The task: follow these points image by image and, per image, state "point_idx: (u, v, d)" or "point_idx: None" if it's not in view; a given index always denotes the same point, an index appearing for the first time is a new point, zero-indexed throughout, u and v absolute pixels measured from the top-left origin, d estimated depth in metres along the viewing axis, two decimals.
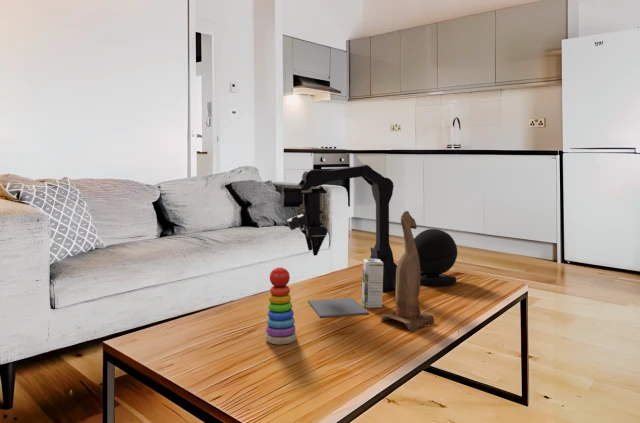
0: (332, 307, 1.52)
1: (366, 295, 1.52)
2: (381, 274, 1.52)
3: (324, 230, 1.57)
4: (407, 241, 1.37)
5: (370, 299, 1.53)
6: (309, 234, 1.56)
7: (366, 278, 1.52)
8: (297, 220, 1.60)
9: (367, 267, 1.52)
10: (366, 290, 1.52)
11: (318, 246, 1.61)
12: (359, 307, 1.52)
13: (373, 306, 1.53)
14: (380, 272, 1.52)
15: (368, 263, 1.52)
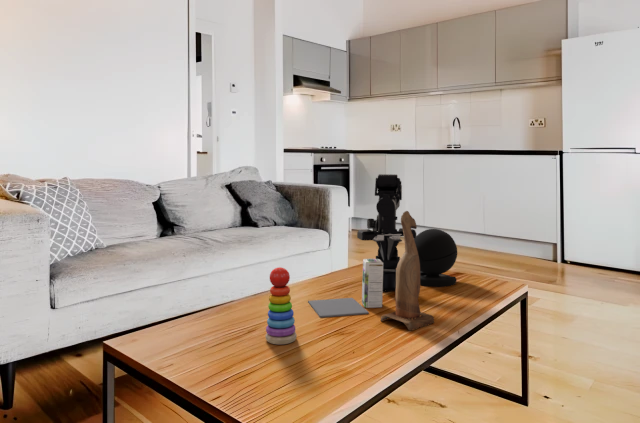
0: (332, 307, 1.52)
1: (366, 295, 1.52)
2: (381, 274, 1.52)
3: (361, 235, 1.57)
4: (407, 241, 1.37)
5: (370, 299, 1.53)
6: None
7: (366, 278, 1.52)
8: (368, 222, 1.65)
9: (367, 267, 1.52)
10: (366, 290, 1.52)
11: (382, 251, 1.60)
12: (359, 307, 1.52)
13: (373, 306, 1.53)
14: (379, 272, 1.52)
15: (368, 263, 1.52)
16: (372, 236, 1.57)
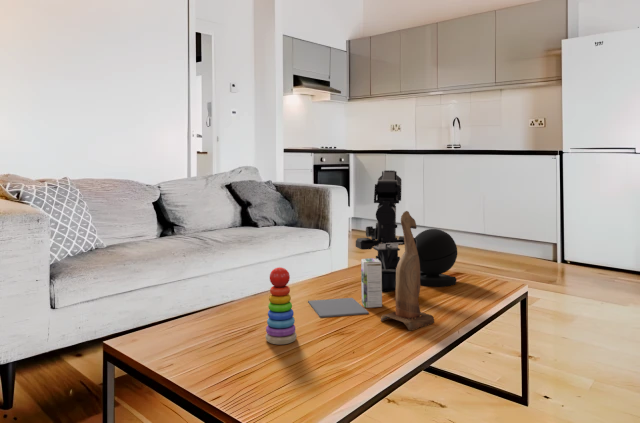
0: (332, 307, 1.52)
1: (365, 295, 1.52)
2: (380, 273, 1.52)
3: (360, 244, 1.51)
4: (407, 241, 1.37)
5: (369, 299, 1.53)
6: None
7: (365, 278, 1.52)
8: (367, 230, 1.59)
9: (365, 267, 1.52)
10: (365, 290, 1.52)
11: (383, 260, 1.54)
12: (359, 307, 1.52)
13: (373, 306, 1.53)
14: (378, 272, 1.52)
15: (366, 263, 1.51)
16: (371, 245, 1.50)
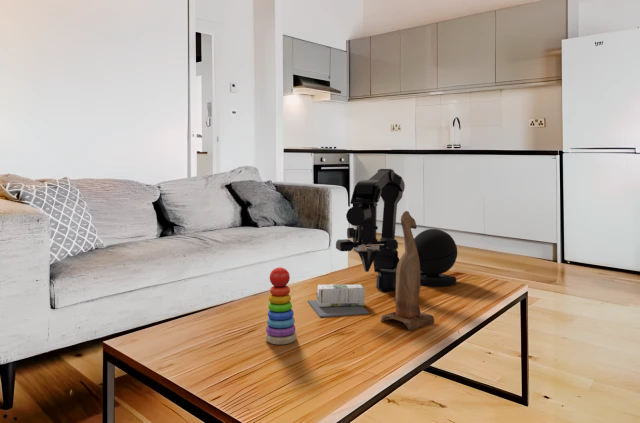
0: (332, 307, 1.52)
1: (352, 304, 1.52)
2: (331, 290, 1.52)
3: (340, 245, 1.49)
4: (407, 241, 1.37)
5: (356, 300, 1.52)
6: None
7: (335, 305, 1.52)
8: (348, 232, 1.58)
9: (323, 304, 1.52)
10: (347, 304, 1.52)
11: (363, 262, 1.53)
12: (359, 307, 1.52)
13: (363, 297, 1.53)
14: (329, 292, 1.51)
15: (319, 304, 1.52)
16: (351, 247, 1.49)
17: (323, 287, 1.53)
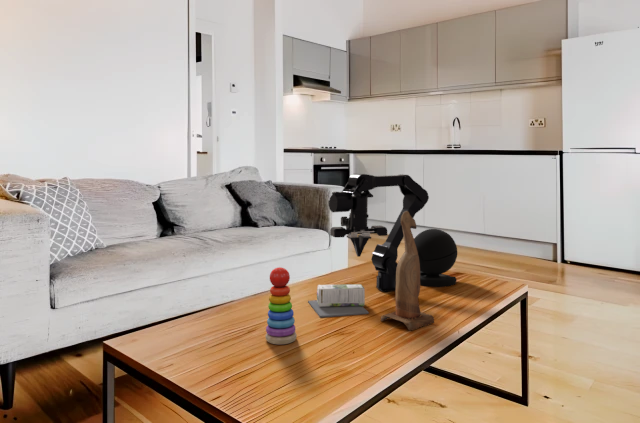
0: (332, 307, 1.52)
1: (352, 304, 1.52)
2: (331, 290, 1.52)
3: (334, 232, 1.63)
4: (407, 241, 1.37)
5: (356, 300, 1.52)
6: None
7: (335, 305, 1.52)
8: (342, 220, 1.71)
9: (323, 304, 1.52)
10: (347, 304, 1.52)
11: (355, 247, 1.66)
12: (359, 307, 1.52)
13: (363, 297, 1.53)
14: (329, 292, 1.52)
15: (319, 303, 1.52)
16: (344, 233, 1.63)
17: (323, 287, 1.53)
